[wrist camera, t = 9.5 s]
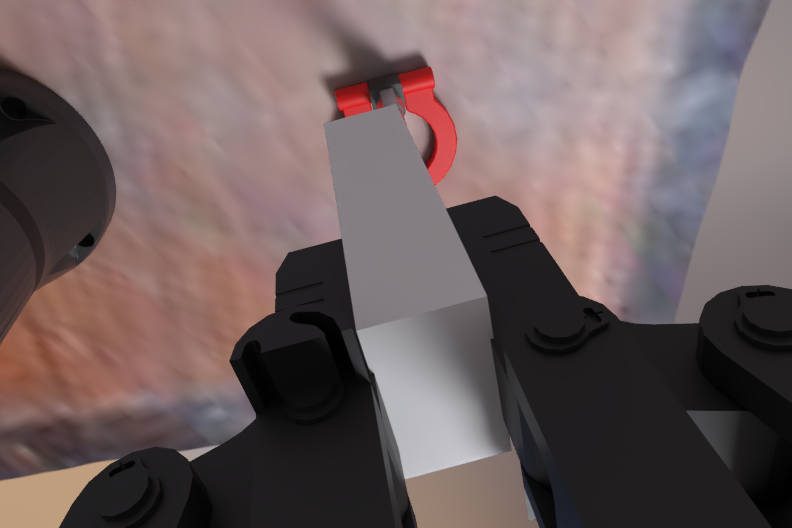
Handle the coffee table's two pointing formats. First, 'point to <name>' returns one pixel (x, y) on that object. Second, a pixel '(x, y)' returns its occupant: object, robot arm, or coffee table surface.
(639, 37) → the coffee table surface
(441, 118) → the tow hook
